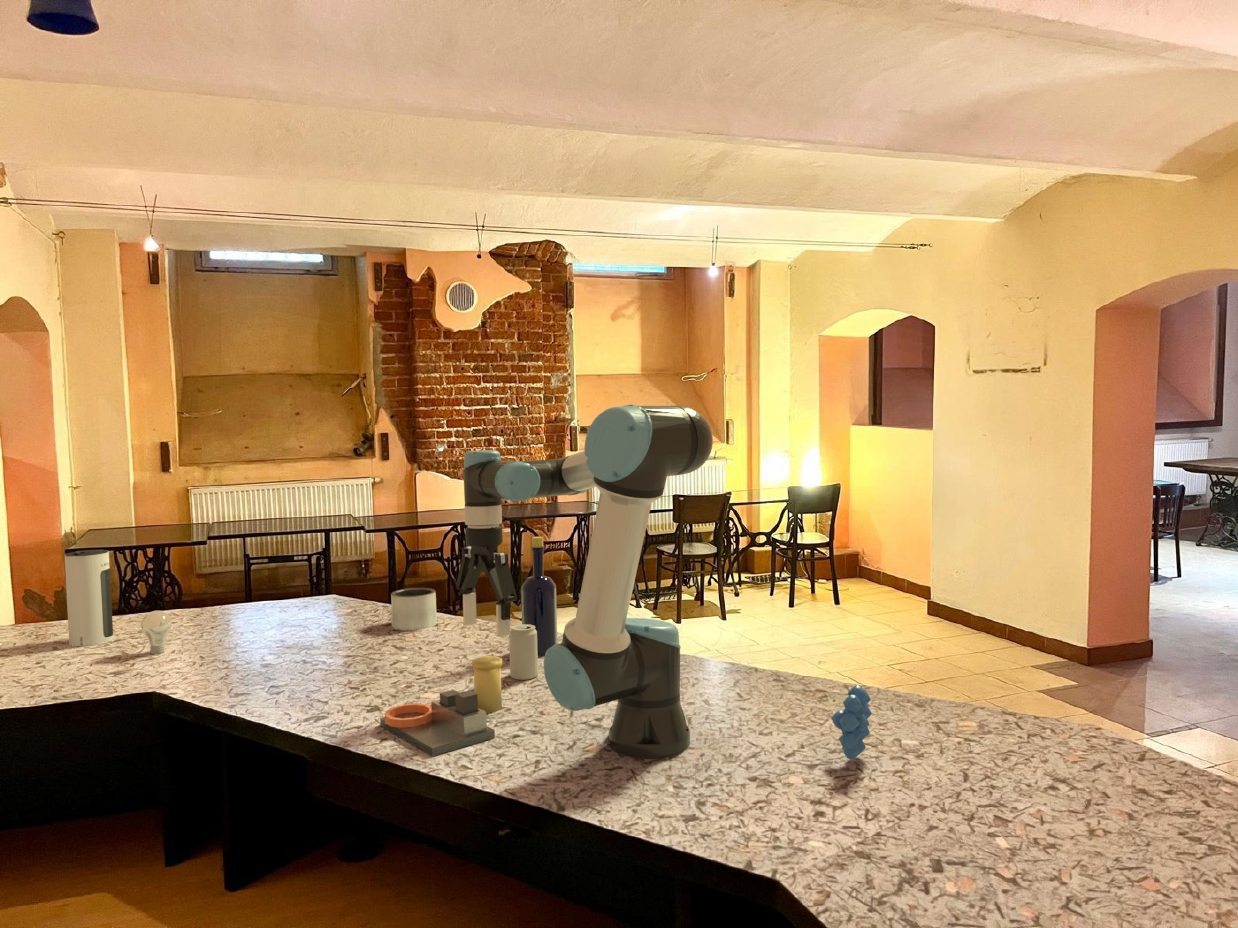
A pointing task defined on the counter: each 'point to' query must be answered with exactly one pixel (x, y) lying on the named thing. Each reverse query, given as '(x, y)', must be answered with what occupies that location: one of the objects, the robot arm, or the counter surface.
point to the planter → (413, 608)
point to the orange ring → (408, 721)
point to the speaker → (88, 597)
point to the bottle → (540, 601)
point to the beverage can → (523, 652)
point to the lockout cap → (488, 683)
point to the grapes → (853, 722)
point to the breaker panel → (444, 729)
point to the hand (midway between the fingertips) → (486, 629)
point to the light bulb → (156, 630)
